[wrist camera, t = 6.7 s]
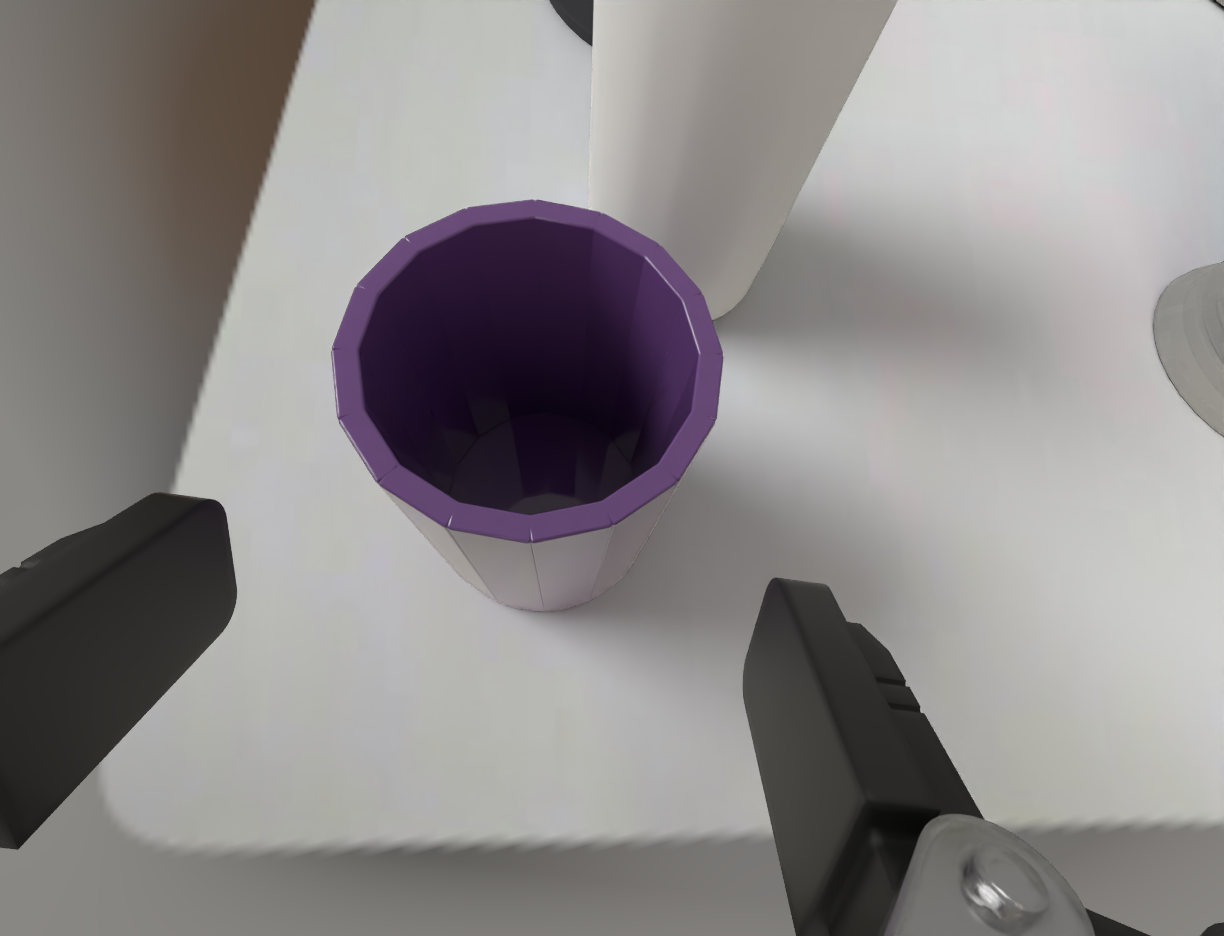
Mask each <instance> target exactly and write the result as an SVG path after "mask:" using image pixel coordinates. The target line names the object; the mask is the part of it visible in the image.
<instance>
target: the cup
mask: <svg viewBox="0 0 1224 936" xmlns="http://www.w3.org/2000/svg"><path fill="white" fill-rule="evenodd" d="M331 356H332V367H333V378H334V389H335V400H336V410H337V418H338V420H339V424H340V426H341V427H342V429H343V430H344V432H345V434H346V435H347V437H348V438H349V440H350V442H351V443H352V445H353V446H354V448H355V450H356V451H357V453H358V454H359V456H360V458H361V459H362V461H363V462H364V464H365V466H366V467H367V469H368V470H369V472H370V474H371V475H372V477H373V478H374V480H375V482H376V483H377V484H378V485H379V486H380V487H381V488H382V490H383V491H384V492H385V493H386V494H387V495H388V496H389V497H390V499H391V500H392V501H393V502H394V503H395V504H396V505H397V506H398V508H399V509H400V510H401V511H402V512H403V513H404V514H405V515H406V517H407V518H408V519H409V520H410V521H411V522H412V523H413V524H414V526H415V527H416V528H417V529H418V530H419V531H420V532H421V533H422V535H423V536H424V537H425V538H426V539H427V540H428V541H429V542H430V544H431V545H432V546H433V547H434V548H435V549H436V550H437V551H438V553H439V554H440V555H441V556H442V557H443V558H444V559H445V560H446V562H447V563H448V564H449V565H450V566H451V567H452V568H453V569H454V571H455V572H456V573H457V574H458V575H459V576H460V577H461V578H462V579H463V580H464V581H466V582H467V583H469V584H470V585H471V586H473V587H474V588H475V589H477V590H478V591H479V592H481V593H482V594H484V595H485V596H487V597H489V598H491V599H492V600H494V601H496V602H499V603H501V604H504V605H506V606H509V607H513V608H517V609H521V610H529V611H555V610H562V609H567V608H571V607H574V606H577V605H581V604H583V603H585V602H588V601H590V600H592V599H594V598H596V597H597V596H599V595H601V594H602V593H604V592H605V591H607V590H608V589H609V588H611V587H612V586H613V585H614V584H615V583H617V582H618V581H619V580H620V579H621V578H622V577H624V576H625V574H627V572H628V571H629V569H630V567H631V566H632V564H633V563H634V561H635V559H636V558H637V556H638V554H639V553H640V551H641V550H642V548H643V546H644V545H645V543H646V541H647V540H648V538H649V536H650V535H651V533H652V531H653V529H654V528H655V526H656V524H657V523H658V521H659V519H660V517H661V516H662V514H663V512H664V511H665V509H666V507H667V505H668V504H669V502H670V500H671V499H672V497H673V495H674V493H675V492H676V490H677V488H678V486H679V485H680V483H681V481H682V480H683V478H684V476H685V474H686V473H687V471H688V469H689V468H690V466H691V464H692V462H693V461H694V459H695V457H696V456H697V454H698V452H699V450H700V449H701V447H702V445H703V444H704V442H705V440H706V438H707V437H708V435H709V433H710V432H711V430H712V428H713V426H714V425H715V421H716V419H717V412H718V403H719V394H720V385H721V376H722V367H723V351H722V348H721V345H720V342H719V339H718V336H717V334H716V331H715V328H714V325H713V322H712V319H711V316H710V313H709V310H708V307H707V304H706V301H705V298H704V295H703V294H702V292H701V290H700V289H699V288H698V287H697V286H696V285H695V283H694V282H693V281H692V280H691V279H690V278H689V277H688V275H687V274H686V273H685V272H684V271H683V270H682V269H681V267H680V266H679V265H678V264H677V263H676V262H675V260H674V259H673V258H672V257H671V256H670V255H669V254H668V252H667V251H666V250H665V249H664V248H663V247H662V246H661V245H660V246H659V244H658V243H657V242H655V241H654V240H652V239H650V238H648V237H646V236H645V235H643V234H641V233H639V232H637V231H635V230H634V229H632V228H630V227H628V226H626V225H625V224H623V223H621V222H619V221H617V220H616V219H614V218H612V217H610V216H608V215H606V214H605V213H602V214H601V212H599V211H594V210H589V209H584V208H578V207H573V206H568V205H563V204H557V203H552V202H547V201H542V200H535V201H534V200H524V201H516V202H507V203H499V204H491V205H482V206H474V207H468V208H467V209H462V210H460V211H457V212H455V213H453V214H451V215H449V216H447V217H445V218H443V219H440V220H438V221H436V222H434V223H432V224H430V225H428V226H426V227H423V228H421V229H419V230H417V231H415V232H413V233H411V234H409V235H406V236H405V238H402V239H401V240H400V241H399V242H398V243H397V244H396V245H395V246H394V247H393V248H392V249H391V250H390V251H389V252H388V253H387V254H386V255H385V256H384V257H383V258H382V259H381V260H380V261H379V262H378V263H377V264H376V265H375V266H374V267H373V268H372V270H371V271H370V272H369V273H368V274H367V275H366V276H365V277H364V278H363V279H362V280H361V281H360V282H359V283H358V284H357V287H355V288H354V291H353V294H352V296H351V299H350V302H349V304H348V307H347V309H346V312H345V315H344V317H343V320H342V322H341V325H340V328H339V330H338V333H337V336H336V338H335V341H334V343H333V346H332V352H331Z"/></svg>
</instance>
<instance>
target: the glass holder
mask: <svg viewBox="0 0 1224 936" xmlns="http://www.w3.org/2000/svg"><path fill="white" fill-rule="evenodd" d="M1154 335H1155V343H1156V346H1157V350H1158V353H1159V356H1160V359H1161V362H1162V364H1163V366H1164V368H1165V370H1166V372H1167V374H1168V376H1169V378H1170V380H1171V381H1172V383H1173V384H1174V386H1175V387H1176V389H1177V390H1178V392H1179V393H1180V395H1181V396H1182V397H1183V399H1184V400H1185V401H1186V402H1187V403H1188V404H1189V405H1190V406H1191V408H1192V409H1193V410H1194V411H1195V412H1196V413H1197V414H1198V415H1199V416H1200V417H1201V418H1202V419H1203V420H1204V421H1205V422H1207V423H1208V424H1209V425H1210V426H1211V427H1212V428H1213V429H1214V430H1216V431H1217V432H1219V433H1220V434H1221V435H1223V436H1224V261H1223V262H1221V263H1217V264H1213V265H1209V266H1205V267H1201V268H1198V269H1194V270H1192V271H1190V272H1188V273H1186V274H1184V275H1182V276H1180V277H1178V278H1177V279H1176V280H1174V281H1173V282H1172V283H1171V284H1170V285H1169V286H1167V288H1166V289H1165V291H1164V292H1163V294H1162V295H1161V297H1160V298H1159V301H1158V304H1157V307H1156V310H1155V316H1154Z"/></svg>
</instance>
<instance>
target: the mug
mask: <svg viewBox="0 0 1224 936" xmlns="http://www.w3.org/2000/svg"><path fill="white" fill-rule="evenodd" d="M897 1H898V0H594V11H593V49H592V87H591V124H590V156H589V185H588V209H589V210H594V211H599V212H601V214H602V213H605V214H606V215H608V216H610V217H612V218H614V219H616V220H617V221H619V222H621V223H623V224H625V225H626V226H628V227H630V228H632V229H634V230H635V231H637V232H639V233H641V234H643V235H645V236H646V237H648V238H650V239H652V240H654V241H655V242H657V243H658V244H659V246H660V245H661V246H662V247H663V248H664V249H665V250H666V251H667V252H668V254H669V255H670V256H671V257H672V258H673V259H674V260H675V262H676V263H677V264H678V265H679V266H680V267H681V269H682V270H683V271H684V272H685V273H686V274H687V275H688V277H689V278H690V279H691V280H692V281H693V282H694V283H695V285H696V286H697V287H698V288H699V289H700V290H701V292H702V294H703V295H704V298H705V301H706V304H707V307H708V310H709V313H710V316H711V319H712V320H715V319H717V318H719V317H721V316H723V315H724V314H726V313H728V312H729V311H730V310H732V309H733V308H734V307H735V306H736V305H737V304H738V303H739V302H740V301H741V300H742V299H743V298H744V296H745V295H746V293H747V292H748V290H749V288H750V287H751V285H752V283H753V281H754V279H755V277H756V276H757V274H758V272H759V270H760V268H761V266H762V265H763V263H764V261H765V259H766V257H767V255H768V253H769V251H770V250H771V248H772V246H773V244H774V242H775V240H776V238H777V236H778V234H779V232H780V230H781V228H782V226H783V224H784V222H785V220H786V218H787V216H788V214H789V212H790V210H791V208H792V206H793V204H794V202H795V200H796V198H797V196H798V194H799V192H800V190H801V188H802V186H803V184H804V182H805V181H806V179H807V177H808V175H809V173H810V171H811V169H812V167H813V165H814V163H815V161H816V159H817V157H818V155H819V153H820V151H821V149H822V147H823V145H824V143H825V141H826V139H827V138H828V136H829V134H830V132H831V130H832V128H833V126H834V124H835V122H836V120H837V118H838V116H839V114H840V112H841V110H842V108H843V106H844V104H845V102H846V100H847V99H848V97H849V95H850V93H851V91H852V89H853V87H854V85H855V83H856V81H857V79H858V77H859V75H860V73H861V71H862V69H863V67H864V65H865V63H866V62H867V60H868V58H869V56H870V54H871V52H872V50H873V48H874V46H875V44H876V42H877V40H878V38H879V36H880V34H881V32H882V30H883V28H884V26H885V24H886V22H887V21H888V19H889V17H890V15H891V13H892V11H893V9H894V7H895V5H896V3H897Z"/></svg>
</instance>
